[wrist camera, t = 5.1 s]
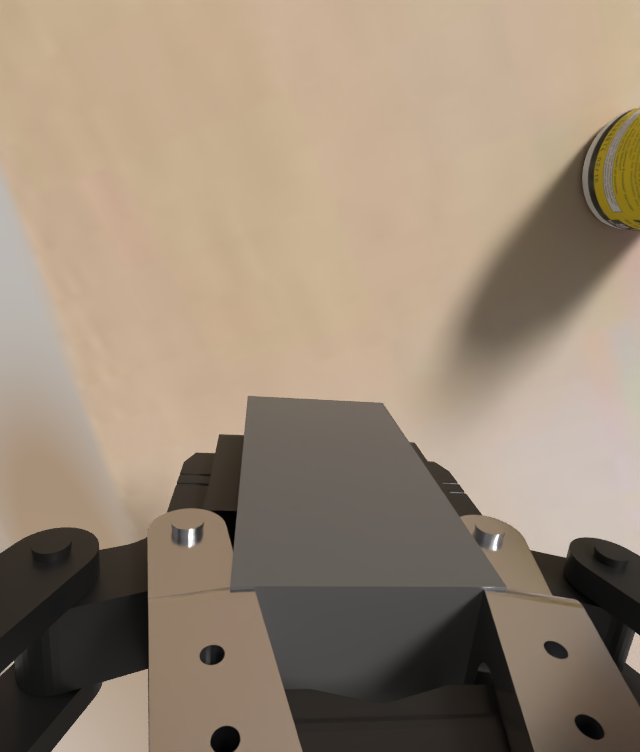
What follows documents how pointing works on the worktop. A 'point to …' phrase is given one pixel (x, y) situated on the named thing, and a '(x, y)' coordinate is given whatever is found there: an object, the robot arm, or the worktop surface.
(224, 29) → the worktop surface
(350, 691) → the grey piece
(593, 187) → the supplement bottle
